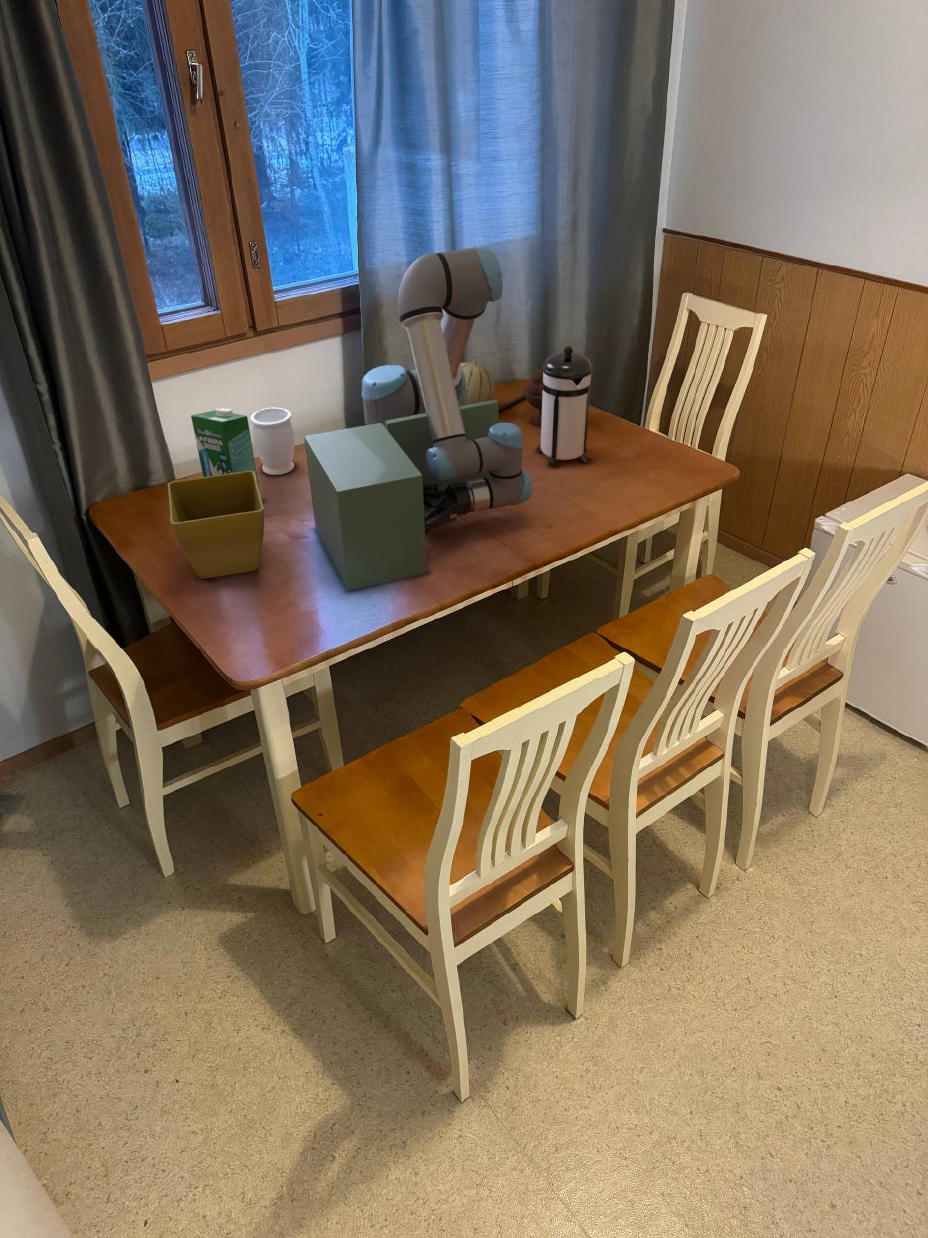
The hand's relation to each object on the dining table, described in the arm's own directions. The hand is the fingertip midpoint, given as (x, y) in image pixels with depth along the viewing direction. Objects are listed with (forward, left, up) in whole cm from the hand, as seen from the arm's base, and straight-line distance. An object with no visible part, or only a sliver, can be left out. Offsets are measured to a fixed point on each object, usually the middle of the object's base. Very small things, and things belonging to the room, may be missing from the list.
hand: (378, 515), depth 207 cm
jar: (-21, -46, -9) cm, 51 cm away
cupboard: (+2, -2, -8) cm, 9 cm away
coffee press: (-62, +17, -9) cm, 65 cm away
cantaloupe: (-76, -18, -9) cm, 79 cm away
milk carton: (0, -43, -9) cm, 44 cm away
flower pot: (+21, -28, -9) cm, 36 cm away
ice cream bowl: (-79, +4, -9) cm, 80 cm away
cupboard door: (-27, 0, -8) cm, 29 cm away
